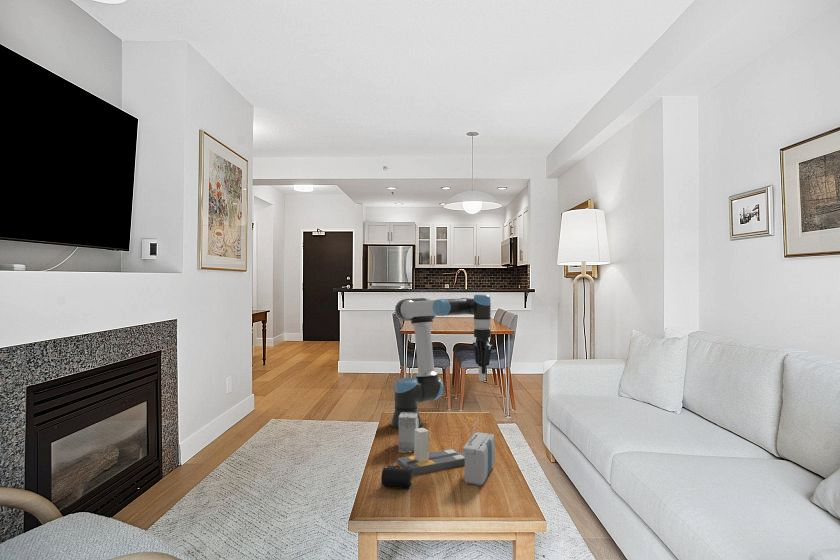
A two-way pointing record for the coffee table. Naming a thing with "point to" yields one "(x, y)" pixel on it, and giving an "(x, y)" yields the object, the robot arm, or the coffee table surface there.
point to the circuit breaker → (407, 431)
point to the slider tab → (421, 445)
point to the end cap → (396, 477)
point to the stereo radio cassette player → (479, 457)
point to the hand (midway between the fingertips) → (482, 380)
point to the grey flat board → (433, 461)
